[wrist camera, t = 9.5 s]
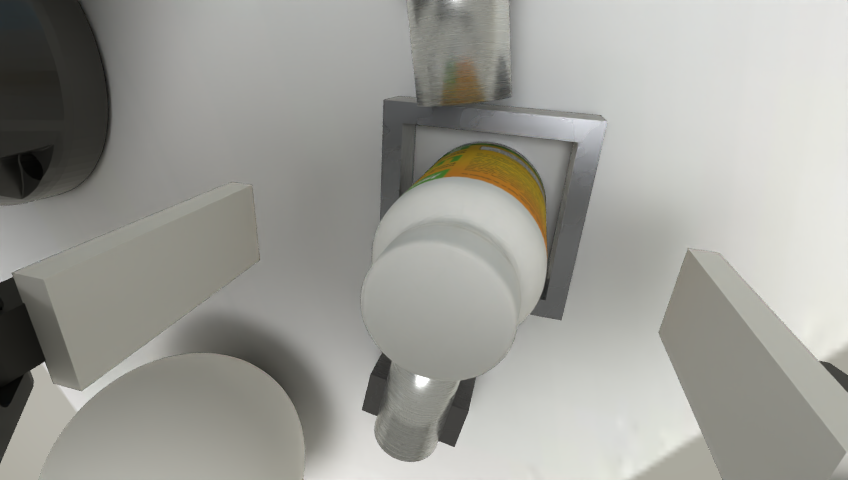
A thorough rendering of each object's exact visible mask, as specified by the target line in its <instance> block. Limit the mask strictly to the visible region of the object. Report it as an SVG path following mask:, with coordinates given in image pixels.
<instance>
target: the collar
mask: <svg viewBox="0 0 848 480" xmlns="http://www.w3.org/2000/svg"><path fill="white" fill-rule="evenodd" d="M416 125H425V126H434V127H443V128H453V129H462V130H471V131H480V132H489V133H498V134H508V135H517V136H526V137H535V138H544V139H553V140H563V141H572V142H573V147H572V152H571V157H570V161H569V166H568V171H567V176H566V181H565V186H564V191H563V196H562V200H561V205H560V210H559V215H558V220H557V225H556V230H555V235H554V239H553V244H552V249H551V254H550V259H549V264H548V269H547V274H546V278H545V284H544V288H543V291H542V294H541V296H540V298H539V300H538V302H537V304H536V306H535V307H534V309H533V310H532V312H531V313H530V314H531V315H536V316H541V317H547V318H552V319H557V320H562V316H563V312H564V307H565V303H566V299H567V295H568V290H569V286H570V282H571V277H572V273H573V269H574V264H575V260H576V256H577V251H578V247H579V243H580V239H581V234H582V230H583V226H584V221H585V217H586V213H587V208H588V204H589V200H590V196H591V191H592V187H593V183H594V178H595V174H596V170H597V165H598V161H599V157H600V152H601V148H602V144H603V140H604V135H605V131H606V127H607V121H606V120H605V119H604V118H603V117H602V116H601V115H593V114H583V113H572V112H562V111H552V110H541V109H531V108H520V107H510V106H499V105H489V104H478V103H469V104H459V105H447V106H429V107H422V106H417V98H416V97H405V96H397V97H393V98H388V99H384V105H383V140H382V175H381V211H380V222H381V220H382V218H383V217H384V215H385V214H386V212H387V211H388V210H389V209H390V207H391V206H392V205H393V204H394V203H395V202H396V201H397V200H398V199H399V198H400V197H401V196H402V195H403V194H404V193H405V192H406V191H407V190H408V189H409V188H410V187H411V186H412V180H413V163H414V146H415V129H416Z"/></svg>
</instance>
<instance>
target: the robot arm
mask: <svg viewBox="0 0 848 480" xmlns="http://www.w3.org/2000/svg"><path fill="white" fill-rule="evenodd" d="M107 122H108V101H107V90H106V82H105V77H104V72H103V67H102V63H101V59H100V55H99V52H98V49H97V45H96V43H95V40H94V37H93V34H92V31H91V29H90V26H89V24H88V22H87V19H86V17H85V15H84V13H83V11H82V8H81V6H80V4H79V2H78V1H77V0H0V206H7V205H16V204H23V203H28V202H31V201H35V200H39V199H42V198H46V197H50V196H54V195H57V194H61V193H64V192H67V191H69V190H71V189H73V188H75V187H76V186H78V185H79V184H81V183H82V182H83V181H84V180H85V179H86V178H87V177H88V176H89V175H90V173H91V172H92V170H93V169H94V167H95V166H96V164H97V162H98V160H99V158H100V155H101V153H102V150H103V146H104V142H105V138H106V132H107ZM259 260H260V256H259V247H258V237H257V227H256V218H255V208H254V198H253V188H252V185H249V184H242V183H235V182H230V183H228V184H225V185H223V186H220V187H218V188H216V189H213V190H211V191H208V192H206V193H203V194H201V195H199V196H196V197H194V198H191V199H189V200H187V201H184V202H182V203H179V204H177V205H174V206H172V207H170V208H167V209H165V210H162V211H160V212H157V213H155V214H153V215H150V216H148V217H145V218H143V219H141V220H138V221H136V222H133V223H131V224H128V225H126V226H124V227H121V228H119V229H116V230H114V231H111V232H109V233H107V234H104V235H102V236H99V237H97V238H95V239H92V240H90V241H87V242H85V243H82V244H80V245H78V246H75V247H73V248H70V249H68V250H65V251H63V252H61V253H58V254H56V255H53V256H51V257H49V258H46V259H44V260H41V261H39V262H36V263H34V264H32V265H29V266H27V267H24V268H22V269H19V270H17V271H15V272H12V275H13V277H12V278H10V279H8V280H5V281H3V282H1V283H0V463H1V460H2V458H3V456H4V453H5V451H6V449H7V446H8V444H9V442H10V439H11V437H12V435H13V433H14V430H15V428H16V425H17V423H18V421H19V419H20V416H21V414H22V411H23V409H24V407H25V405H26V402H27V400H28V397H29V395H30V393H31V390H32V388H33V383H34V380H33V377H32V374H31V372H30V370H31V369H33V368H35V367H36V366H38V365H40V364H41V363H43V362H44V361H45V363H46V366H47V368H48V371H49V374H50V376H51V379H52V382H53V383H54V384H57V385H61V386H64V387H68V388H72V389H75V390H79V391H83V390H84V389H85V388H87V387H88V386H89V385H91V384H92V383H94V382H95V381H96V380H98V379H99V378H100V377H102V376H103V375H104V374H106V373H107V372H108V371H110V370H111V369H113V368H114V367H115V366H117V365H118V364H119V363H121V362H122V361H123V360H125V359H126V358H127V357H129V356H130V355H132V354H133V353H134V352H136V351H137V350H138V349H140V348H141V347H142V346H144V345H145V344H147V343H148V342H149V341H151V340H152V339H153V338H155V337H156V336H157V335H159V334H160V333H161V332H163V331H164V330H166V329H167V328H168V327H170V326H171V325H172V324H174V323H175V322H176V321H178V320H179V319H180V318H182V317H183V316H185V315H186V314H187V313H189V312H190V311H191V310H193V309H194V308H195V307H197V306H198V305H199V304H201V303H202V302H204V301H205V300H206V299H208V298H209V297H210V296H212V295H213V294H214V293H216V292H217V291H218V290H220V289H221V288H223V287H224V286H225V285H227V284H228V283H229V282H231V281H232V280H233V279H235V278H236V277H238V276H239V275H240V274H242V273H243V272H244V271H246V270H247V269H248V268H250V267H251V266H252V265H254V264H255V263H257V262H258V261H259ZM658 333H659V335H660V337H661V340H662V342H663V344H664V347H665V349H666V351H667V353H668V356H669V358H670V360H671V363H672V365H673V367H674V370H675V372H676V374H677V376H678V379H679V381H680V383H681V386H682V388H683V390H684V393H685V395H686V397H687V399H688V402H689V404H690V406H691V409H692V411H693V413H694V416H695V418H696V420H697V422H698V425H699V427H700V429H701V432H702V434H703V436H704V439H705V441H706V443H707V445H708V448H709V450H710V452H711V455H712V457H713V459H714V462H715V464H716V466H717V468H718V471H719V473H720V475H721V478H722V480H848V375H847V374H845V373H843V372H842V371H841V370H839V369H838V368H836V367H835V366H833V365H832V364H830V363H827V362H822V361H818V360H817V359H816V358H815V357H814V355H813V354H812V353H811V352H810V351H809V350H808V349H807V348H806V347H805V346H804V345H803V343H802V342H801V341H800V340H799V339H798V338H797V337H796V336H795V335H794V334H793V333H792V331H791V330H790V329H789V328H788V327H787V326H786V325H785V324H784V323H783V322H782V321H781V319H780V318H779V317H778V316H777V315H776V314H775V313H774V312H773V311H772V310H771V309H770V308H769V306H768V305H767V304H766V303H765V302H764V301H763V300H762V299H761V298H760V297H759V296H758V294H757V293H756V292H755V291H754V290H753V289H752V288H751V287H750V286H749V285H748V284H747V282H746V281H745V280H744V279H743V278H742V277H741V276H740V275H739V274H738V273H737V272H736V271H735V269H734V268H733V267H732V266H731V265H730V264H729V263H728V262H727V261H726V260H725V259H724V257H723V256H722V255H721V254H720V253H716V252H710V251H703V250H696V249H689V248H688V250H687V253H686V255H685V258H684V261H683V264H682V267H681V270H680V273H679V275H678V278H677V281H676V284H675V287H674V290H673V293H672V295H671V298H670V301H669V304H668V307H667V310H666V312H665V315H664V318H663V321H662V324H661V327H660V330H659V332H658Z"/></svg>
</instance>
